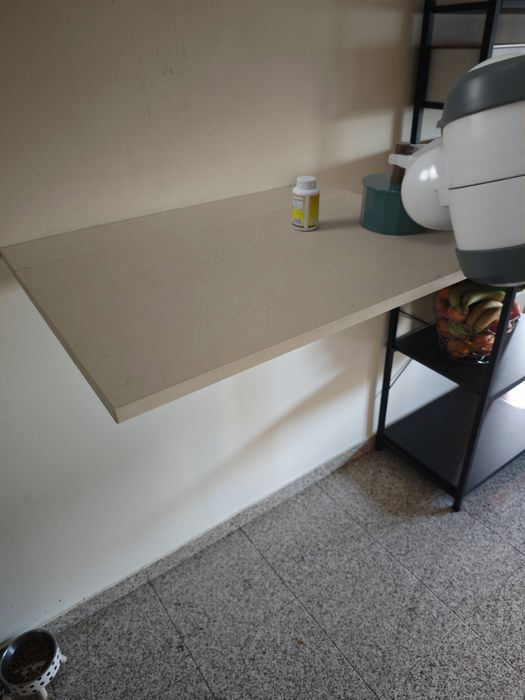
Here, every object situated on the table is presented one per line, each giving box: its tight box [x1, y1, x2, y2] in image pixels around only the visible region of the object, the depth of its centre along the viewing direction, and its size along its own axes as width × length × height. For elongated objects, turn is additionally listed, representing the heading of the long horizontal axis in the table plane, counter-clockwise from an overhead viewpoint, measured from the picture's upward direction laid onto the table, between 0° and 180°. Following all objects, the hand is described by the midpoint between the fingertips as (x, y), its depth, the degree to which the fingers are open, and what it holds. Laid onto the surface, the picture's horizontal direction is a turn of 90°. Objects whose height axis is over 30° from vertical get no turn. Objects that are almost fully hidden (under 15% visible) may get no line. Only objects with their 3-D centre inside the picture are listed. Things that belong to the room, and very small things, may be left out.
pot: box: [359, 185, 426, 236], centre depth 105 cm, size 14×14×8 cm
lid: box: [360, 140, 412, 194], centre depth 101 cm, size 15×15×9 cm
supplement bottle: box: [291, 175, 321, 232], centre depth 103 cm, size 6×6×10 cm
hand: (397, 153), depth 100 cm, fingers open, 8 cm apart
